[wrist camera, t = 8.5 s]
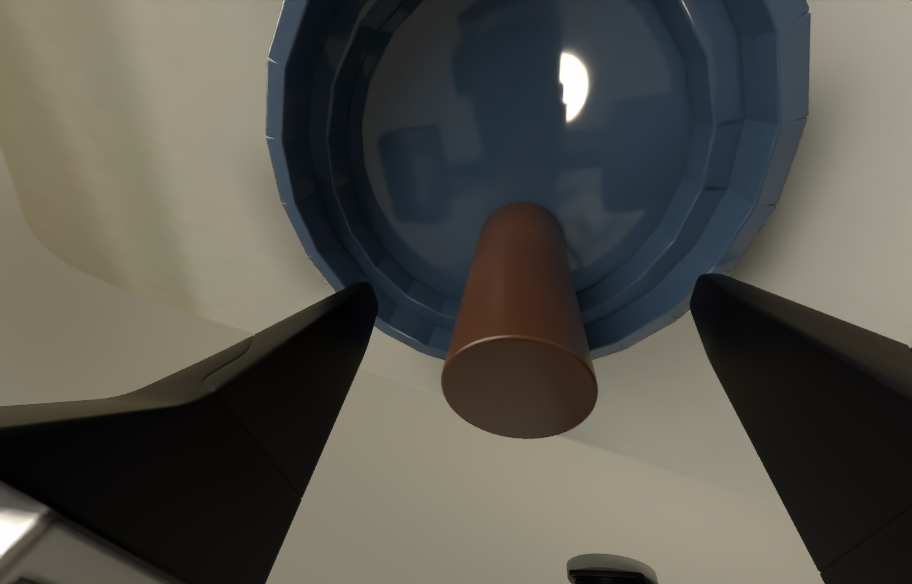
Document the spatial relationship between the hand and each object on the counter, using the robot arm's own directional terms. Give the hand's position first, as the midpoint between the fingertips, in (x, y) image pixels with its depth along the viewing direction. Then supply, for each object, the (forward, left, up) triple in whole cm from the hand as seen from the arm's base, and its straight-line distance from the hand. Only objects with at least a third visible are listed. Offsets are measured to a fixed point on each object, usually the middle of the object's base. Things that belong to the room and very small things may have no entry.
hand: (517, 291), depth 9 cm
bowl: (0, +2, -4) cm, 5 cm away
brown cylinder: (0, 0, 0) cm, 0 cm away
